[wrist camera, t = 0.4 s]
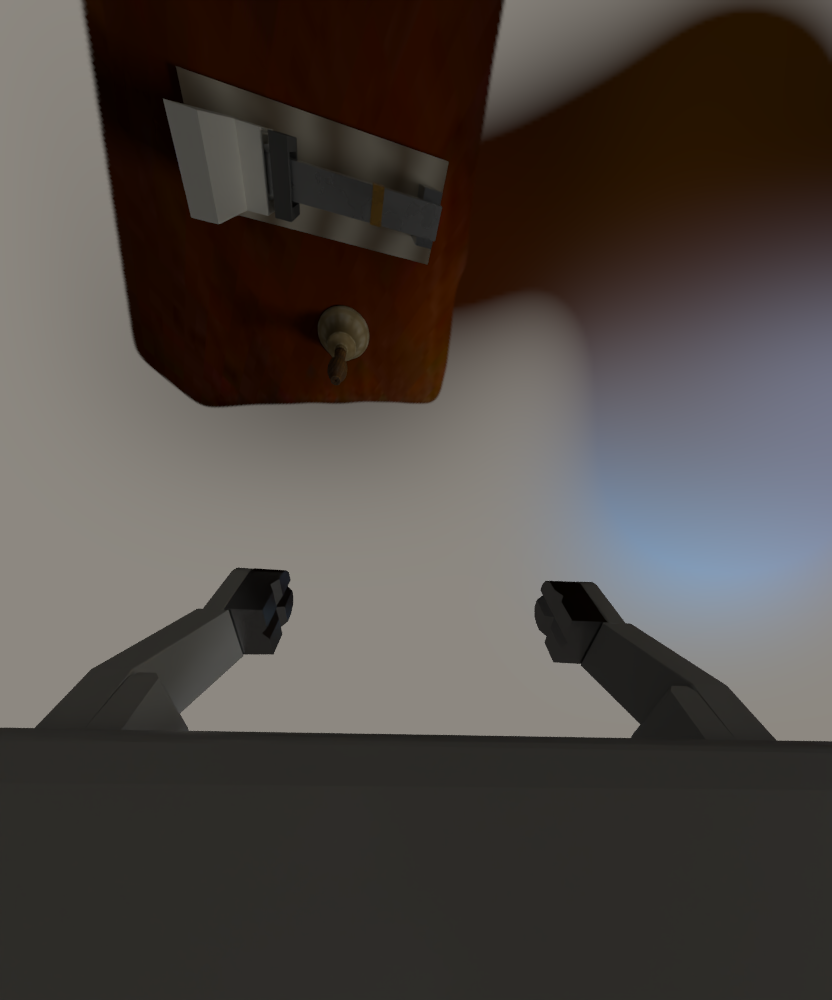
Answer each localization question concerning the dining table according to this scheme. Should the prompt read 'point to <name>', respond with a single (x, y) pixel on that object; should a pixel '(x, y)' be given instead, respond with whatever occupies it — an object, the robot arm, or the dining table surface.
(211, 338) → the dining table surface
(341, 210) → the grey clamp fixture
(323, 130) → the base board
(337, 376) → the hand bell
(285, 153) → the dark grey rubber pad
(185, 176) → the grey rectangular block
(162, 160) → the dining table surface
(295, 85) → the dining table surface
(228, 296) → the dining table surface
